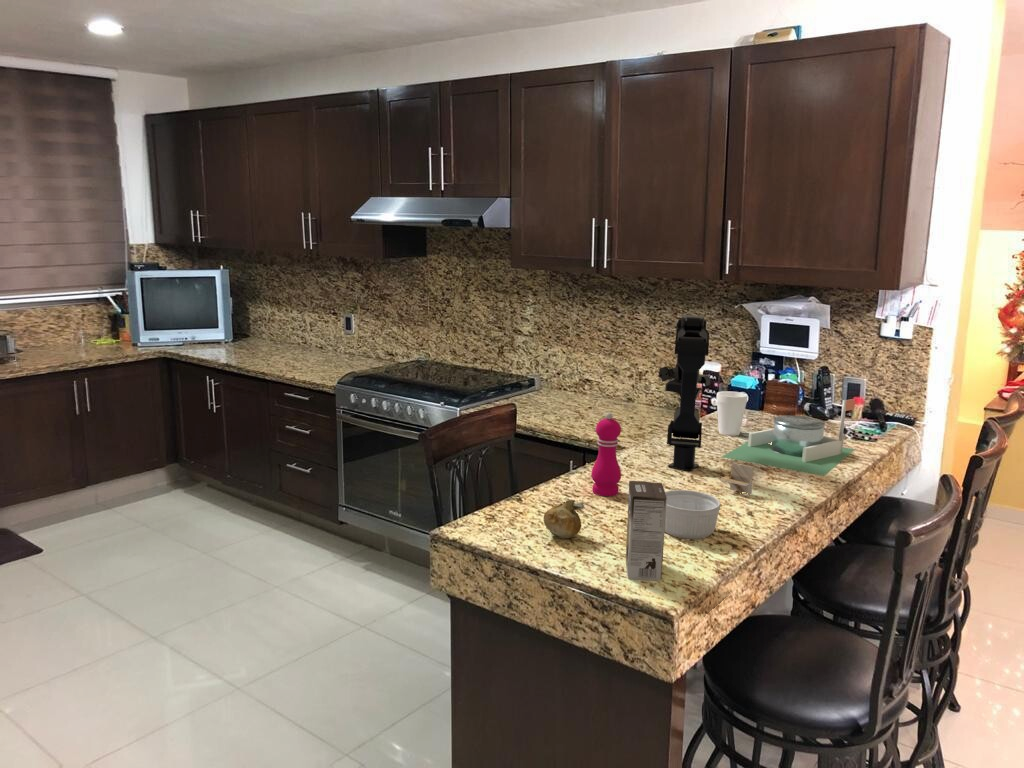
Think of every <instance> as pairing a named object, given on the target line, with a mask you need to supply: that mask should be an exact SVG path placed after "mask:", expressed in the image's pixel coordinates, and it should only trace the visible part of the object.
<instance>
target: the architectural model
mask: <svg viewBox="0 0 1024 768" xmlns="http://www.w3.org/2000/svg"><path fill="white" fill-rule="evenodd" d="M730 466H731V469H730V470H731V471H730V472H729V475H728V476H727V475H726V476H723V477H721V478H720V481H723V482H728V483H730V484H729V490H730V489H731V490H730V491H734V490H736V491H735V492H738V493H739V494H740V493H741V494H740V495H743V494H742V492H746V493H745V494H747V493H748V494H747V496H748V495H750V494H753V482H754V481H753V477H754V474H753V473H754V466H749V465H745V464H741V463H736V462H732V463H731V465H730ZM750 496H751V495H750Z"/></svg>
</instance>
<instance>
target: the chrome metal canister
mask: <svg viewBox="0 0 1024 768" xmlns="http://www.w3.org/2000/svg"><path fill="white" fill-rule="evenodd" d="M825 426H826V423H825V422H824V421H823V420H821V419H818V418H813V417H809V416H801V415H780V416H779V415H777V416H775V417H774V418H773V428H772V429H773V441H772V449H773V450H774V451H776V452H778V453H781V454H785V455H790V456H798V457H802V455H803V448H804V447H809V446H813V445H818V444H823V436H825V435H824V433H825Z"/></svg>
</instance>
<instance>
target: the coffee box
mask: <svg viewBox="0 0 1024 768" xmlns="http://www.w3.org/2000/svg"><path fill="white" fill-rule="evenodd" d="M665 492H666V491H665V489H664V485H663V482H652V481H643V480H629V481H628V500H627V502H628V503H627V519H626V521H627V523H626V542H625V543H626V544H625V548H626V549H625V564H626V566H625V567H626V573H627V579H628V580H640V581H656V582H660V581H662V576H663V574H662V573H663V572H662V571H663V560H664V546H665V533H666V532H665V519H666V503H667V497H666V494H665Z"/></svg>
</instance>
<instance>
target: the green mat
mask: <svg viewBox="0 0 1024 768" xmlns="http://www.w3.org/2000/svg"><path fill="white" fill-rule="evenodd" d="M771 446H772V445H770V444H768V443H767V444H762V445H757V446H752V447H750V446H748V441H746V442H745V443H743V444H740V446H738V447H736V448H734V449H732V450H730V451H729V452H727V453H725V454H723V455H722V456H721V458H725V459H730V460H734V461H741V462H744V463H745V462H747V463H751V464H758V465H763V466H768V467H773V468H778V469H784V470H789V471H794V472H800V473H805V474H810V475H815V476H816V475H817V476H821V477H825V476H827V474H829V473H830V472H831V471H832V470H833V469H834V468H835V467H837V465H839V464H841V462H842V461H843V460H845V459H846V458H848V456H849V455H851V454H852V453H853V452H854V451H855V450H856V449H855V448H849V447H844V446H843V447H842V454H839V455H834V456H830V457H826V458H821V459H817V460H812V461H808V462H802V457H798V456H790V455H785V454H780V453H777V452H774V451H772V450H771V449H770V447H771Z"/></svg>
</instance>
